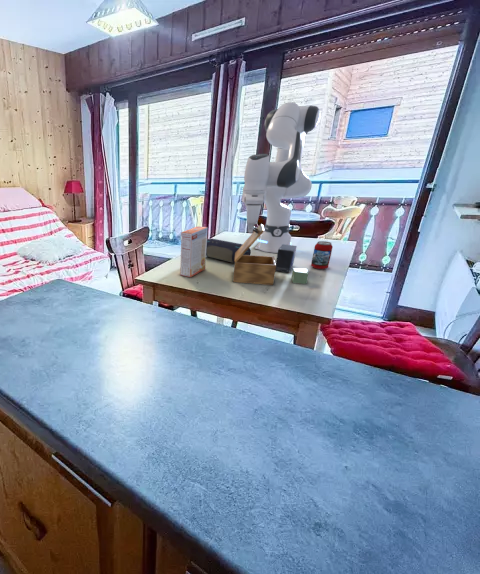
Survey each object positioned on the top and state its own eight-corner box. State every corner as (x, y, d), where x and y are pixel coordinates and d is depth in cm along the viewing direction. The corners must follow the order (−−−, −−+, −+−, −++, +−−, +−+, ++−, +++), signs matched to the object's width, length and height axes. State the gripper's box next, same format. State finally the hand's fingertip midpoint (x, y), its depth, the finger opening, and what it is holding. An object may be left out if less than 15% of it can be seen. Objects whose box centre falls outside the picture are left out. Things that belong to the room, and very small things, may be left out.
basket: (270, 275, 147) (273, 256, 144) (273, 285, 136) (276, 265, 133) (233, 272, 153) (235, 254, 149) (232, 281, 142) (235, 262, 139)
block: (291, 278, 142) (293, 268, 140) (304, 279, 140) (306, 268, 138) (292, 282, 137) (294, 271, 136) (306, 284, 136) (308, 272, 134)
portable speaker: (197, 257, 177) (199, 239, 174) (209, 253, 183) (210, 235, 179) (240, 267, 158) (242, 247, 155) (251, 263, 164) (254, 243, 160)
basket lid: (262, 224, 141) (252, 217, 141) (264, 230, 130) (253, 223, 130) (236, 254, 149) (227, 247, 150) (235, 262, 139) (225, 255, 139)
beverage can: (309, 268, 152) (314, 243, 148) (312, 264, 157) (317, 240, 152) (326, 271, 148) (331, 245, 143) (329, 266, 152) (334, 242, 148)
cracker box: (194, 267, 162) (196, 225, 154) (205, 269, 158) (208, 227, 150) (178, 275, 153) (180, 231, 146) (190, 277, 149) (192, 233, 142)
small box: (289, 273, 148) (293, 250, 144) (273, 270, 152) (277, 249, 148) (293, 266, 156) (297, 245, 152) (278, 264, 159) (281, 243, 155)
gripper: (245, 194, 142) (241, 225, 148) (245, 200, 125) (241, 235, 130) (261, 193, 140) (257, 225, 145) (263, 200, 123) (259, 236, 128)
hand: (250, 230), depth 138 cm, fingers closed on basket lid, 6 cm apart
